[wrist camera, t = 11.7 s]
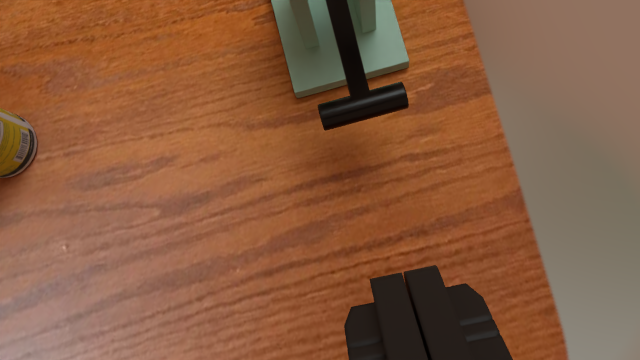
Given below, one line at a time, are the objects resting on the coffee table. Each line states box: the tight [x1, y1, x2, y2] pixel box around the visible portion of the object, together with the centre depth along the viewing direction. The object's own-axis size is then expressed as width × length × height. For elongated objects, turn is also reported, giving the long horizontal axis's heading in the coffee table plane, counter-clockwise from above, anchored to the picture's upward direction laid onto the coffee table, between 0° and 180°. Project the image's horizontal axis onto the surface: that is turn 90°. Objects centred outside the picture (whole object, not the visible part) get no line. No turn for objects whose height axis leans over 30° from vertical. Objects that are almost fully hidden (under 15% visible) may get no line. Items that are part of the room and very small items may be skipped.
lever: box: [318, 0, 409, 131], centre depth 30 cm, size 12×5×2 cm, turn 14°
